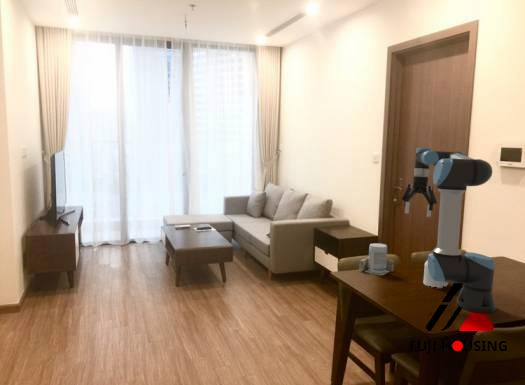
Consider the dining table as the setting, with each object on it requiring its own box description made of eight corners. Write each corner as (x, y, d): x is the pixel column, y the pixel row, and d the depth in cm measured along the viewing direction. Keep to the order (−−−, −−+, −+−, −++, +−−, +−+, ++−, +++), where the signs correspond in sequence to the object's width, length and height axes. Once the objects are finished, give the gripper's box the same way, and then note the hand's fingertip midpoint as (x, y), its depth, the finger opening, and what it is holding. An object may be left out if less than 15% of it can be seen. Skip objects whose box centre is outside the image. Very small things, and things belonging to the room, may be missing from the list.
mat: (381, 275, 226) (381, 275, 226) (364, 271, 233) (364, 271, 233) (389, 271, 234) (389, 271, 234) (372, 267, 240) (372, 267, 240)
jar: (437, 289, 207) (440, 259, 206) (420, 283, 215) (422, 255, 213) (450, 285, 214) (452, 256, 213) (432, 279, 222) (434, 252, 220)
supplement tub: (389, 271, 233) (390, 245, 232) (380, 274, 227) (381, 248, 225) (373, 267, 240) (375, 242, 239) (364, 270, 234) (366, 244, 232)
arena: (382, 276, 224) (382, 266, 224) (358, 271, 233) (359, 260, 232) (393, 271, 235) (393, 260, 235) (370, 266, 244) (371, 255, 243)
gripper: (446, 178, 223) (442, 217, 224) (405, 175, 243) (402, 212, 244) (438, 177, 218) (434, 218, 220) (397, 174, 238) (394, 212, 240)
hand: (417, 214), depth 232 cm, fingers open, 13 cm apart
